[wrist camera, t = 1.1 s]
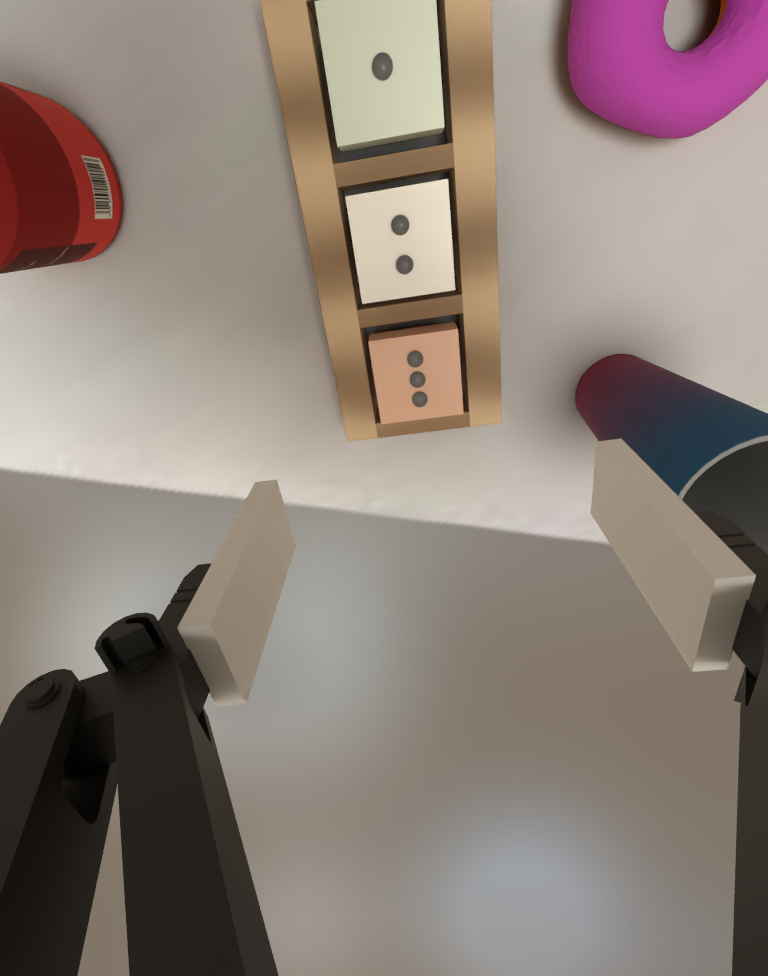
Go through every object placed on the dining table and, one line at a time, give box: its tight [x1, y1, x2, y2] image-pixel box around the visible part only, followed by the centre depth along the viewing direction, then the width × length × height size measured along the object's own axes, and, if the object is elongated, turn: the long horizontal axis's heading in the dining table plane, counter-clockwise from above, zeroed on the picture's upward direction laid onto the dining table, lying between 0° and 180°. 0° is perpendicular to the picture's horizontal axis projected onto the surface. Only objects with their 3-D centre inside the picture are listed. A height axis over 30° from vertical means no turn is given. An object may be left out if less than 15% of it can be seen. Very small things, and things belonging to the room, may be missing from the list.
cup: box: [575, 354, 768, 554], centre depth 26 cm, size 7×7×15 cm
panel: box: [260, 0, 502, 441], centre depth 27 cm, size 22×10×3 cm, turn 8°
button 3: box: [368, 321, 464, 424], centre depth 29 cm, size 5×5×2 cm
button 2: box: [345, 179, 455, 304], centre depth 25 cm, size 5×5×2 cm
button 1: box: [314, 0, 445, 152], centre depth 22 cm, size 5×5×2 cm
